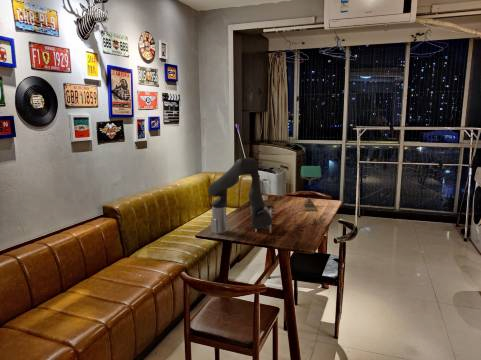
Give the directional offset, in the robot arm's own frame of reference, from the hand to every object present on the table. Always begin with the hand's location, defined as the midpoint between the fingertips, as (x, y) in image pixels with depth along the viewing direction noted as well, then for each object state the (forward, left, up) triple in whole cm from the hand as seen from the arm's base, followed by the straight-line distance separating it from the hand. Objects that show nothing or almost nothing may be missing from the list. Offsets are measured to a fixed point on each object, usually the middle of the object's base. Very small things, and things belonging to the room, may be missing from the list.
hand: (262, 204), depth 219 cm
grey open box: (+18, +20, -22) cm, 34 cm away
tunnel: (+11, +12, -22) cm, 27 cm away
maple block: (+1, +1, -7) cm, 7 cm away
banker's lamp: (+77, +30, -22) cm, 86 cm away
